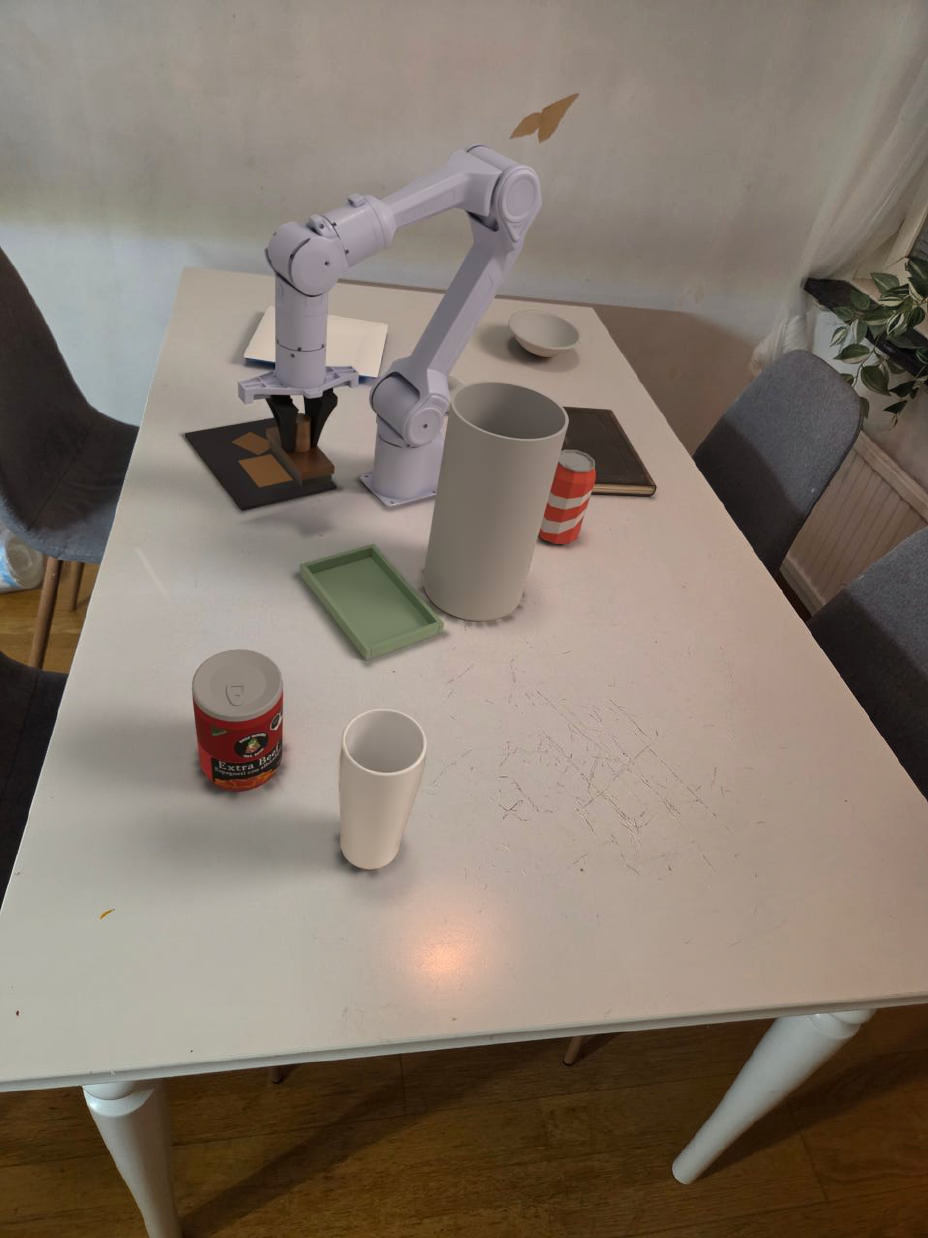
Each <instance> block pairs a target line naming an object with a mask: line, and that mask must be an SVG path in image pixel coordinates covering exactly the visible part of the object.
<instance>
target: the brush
mask: <svg viewBox="0 0 928 1238" xmlns="http://www.w3.org/2000/svg"><path fill="white" fill-rule="evenodd" d="M294 435H295V445H294V451H293V452H287V450H286V449H285V448H284V447H283V446H282V444H281V439H280V434H279V430H278V427H275V428H269V429H266V437H267V438H268V440H269V447H270V448H271V450H272V451H273V452H274V453H275V455H276V456H277V457H278V458H279V460H280V461H281V462H282V463H283V465H284V466H285V467H286V468H287V470H288V471H289V472H290V473H291V474H292V476H293V477H294V478H295V479H296V481H297V482H298V483H299V484H300V486H301V487H306V486H311V485H316V484H320V483H325V482H330V481H331V480H332V477H333V475H334V474H335V470H336V468H335V467H336V466H335V464H334V463H333V462H332V461H331V460H330V459H329V457H328V456H327V455H326V454H325V453H324V452H323V450H322V449H321V448H320V447H319V446H318V445H317V447H313V448H312V447H311V446H310V445H311V417H310V416H309V415H307V414H305V412H298V414H297V418H296V423H295V432H294Z"/></svg>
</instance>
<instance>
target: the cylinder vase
mask: <svg viewBox="0 0 928 1238" xmlns="http://www.w3.org/2000/svg"><path fill="white" fill-rule="evenodd" d="M463 385H464V384H463ZM563 407H564V406H563ZM563 407H562V404H560V403H559V402H558V401H557V400H555V399H554V398H552V397H551V396H550V395H548V394H545V392H542V391H539V390H537V389H535V388H532V387H529V386H526V385H523V384H518V383H514V382H508V381H500V380H499V381H498V380H484V381H483V380H481V381H475V382H471V383H467V384H465V385H464V386H462V387H460V388H459V389H457V390H456V391H455V392H454V393H453V395H452V397H451V403H450V409H449V412H448V416H447V422H446V429H445V435H444V447H443V454H442V460H441V466H440V473H439V479H438V485H437V492H436V495H435V499H434V505H433V511H432V518H431V524H430V529H429V530H430V531H429V538H428V544H427V548H426V549H427V550H426V556H425V562H424V570H423V575H422V585H423V590H424V592H425V594H426V596H427V597H428V598H429V600H430V601H431V602H432V604H434V605H435V606H436V607H437V608H438V609H440V610H441V611H443V612H444V613H446V614H448V615H450V616H453V617H455V618H458V619H462V620H466V621H472V622H488V621H489V622H490V621H495V620H499V619H502V618H504V617H506V616H508V615H509V614H511V613H512V612H513V611H514V610H515V609H516V608H518V605H519V604H520V603H521V600H522V597H523V593H524V590H525V586H526V582H527V579H528V575H529V572H530V567H531V563H532V560H533V556H534V552H535V548H536V545H537V542H538V538H539V531H540V527H541V523H542V520H543V516H544V512H545V508H546V505H547V501H548V497H549V494H550V490H551V486H552V483H553V479H554V475H555V471H556V468H557V464H558V460H559V457H560V453H561V449H562V445H563V442H564V438H565V434H566V431H567V427H568V423H569V418H568V415H567V413H566V411H565V409H564V408H563Z"/></svg>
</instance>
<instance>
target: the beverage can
mask: <svg viewBox="0 0 928 1238" xmlns="http://www.w3.org/2000/svg"><path fill="white" fill-rule="evenodd" d="M595 479H596V471H595V461H594V460H593V459H592V458H591V457H590V456H589V455H588V454H586V453H583V452H580V451H577V450H563V451H561V453H560V457H559V460H558V464H557V468H556V471H555V475H554V479H553V483H552V486H551V490H550V494H549V497H548V501H547V505H546V508H545V512H544V516H543V520H542V523H541V527H540V531H539V534H538V536H539V537H540V538H541V539H543V540H544V541H547V542H549V543H550V544H554V545H557V544H558V545H565V544H571V543H572V542H574V541H575V540H577V539H578V536H579V534H580V531H581V528H582V524H583V521H584V517H585V515H586V511H587V509H588V506H589V501H590V498H591V495H592V494H591V492H592V489H593V486H594V483H595Z"/></svg>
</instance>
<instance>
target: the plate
mask: <svg viewBox="0 0 928 1238" xmlns="http://www.w3.org/2000/svg"><path fill="white" fill-rule="evenodd" d="M388 329H389V325H388V324H386V323H383V322H376V321H371V320H364V319H358V318H352V317H346V316H339V315H333V314H328V320H327V345H326V366H352V367H353V368H354V369H355V370H357V371H358V372H359V378H360V377H361V378H367V379H373V380H375V379H377V378H378V377H379V374H380V373H379V372H380V368H381V363H382V359H383V358H382V357H383V353H384V348H385V343H386V339H387V334H388V331H389V330H388ZM242 357H243V358H244V359H246V360H250V361H255V362H263V363H269V364H274V365H275V305H268V306H267V308H266V310H265V312H264V314H263V316H262V318H261V320H260V321H259V324H258V326H257V328H256V330H255V332H254V334H253V335H252V338H251V340H250V341H249V343H248V345H247V347H246V349H245V351H244V353H243V355H242Z"/></svg>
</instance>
